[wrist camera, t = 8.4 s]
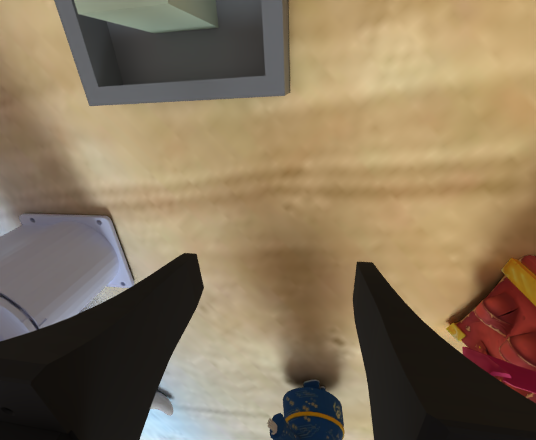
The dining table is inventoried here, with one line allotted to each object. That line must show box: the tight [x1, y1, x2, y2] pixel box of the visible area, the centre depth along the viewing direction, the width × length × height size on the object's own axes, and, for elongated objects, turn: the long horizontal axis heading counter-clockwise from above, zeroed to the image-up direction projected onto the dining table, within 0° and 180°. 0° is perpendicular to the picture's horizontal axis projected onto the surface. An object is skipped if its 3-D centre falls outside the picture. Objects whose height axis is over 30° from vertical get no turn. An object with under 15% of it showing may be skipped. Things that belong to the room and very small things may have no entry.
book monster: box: [446, 255, 536, 403], centre depth 17 cm, size 11×9×12 cm
